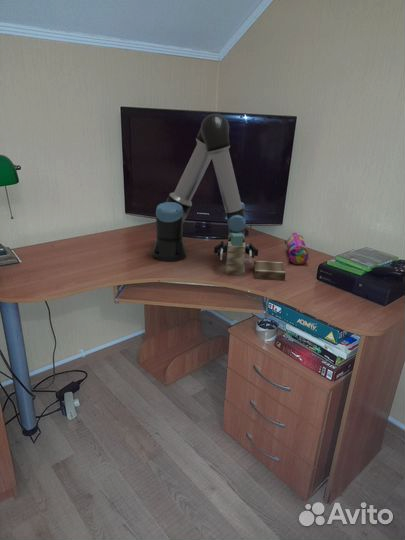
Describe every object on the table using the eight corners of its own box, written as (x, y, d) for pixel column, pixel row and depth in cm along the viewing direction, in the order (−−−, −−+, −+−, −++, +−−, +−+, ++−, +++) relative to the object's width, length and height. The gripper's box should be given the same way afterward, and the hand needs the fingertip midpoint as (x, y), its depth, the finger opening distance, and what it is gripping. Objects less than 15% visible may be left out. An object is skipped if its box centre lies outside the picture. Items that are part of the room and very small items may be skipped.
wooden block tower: (224, 274, 158) (226, 246, 154) (225, 267, 165) (227, 241, 160) (244, 275, 158) (246, 247, 153) (244, 269, 164) (246, 242, 160)
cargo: (232, 245, 154) (233, 236, 153) (230, 242, 158) (231, 233, 157) (242, 245, 155) (243, 236, 154) (240, 242, 159) (240, 233, 157)
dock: (254, 278, 155) (255, 270, 154) (253, 267, 166) (254, 260, 165) (284, 280, 154) (285, 272, 153) (281, 269, 165) (282, 262, 164)
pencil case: (283, 249, 191) (285, 231, 187) (302, 250, 190) (305, 233, 186) (287, 264, 171) (289, 245, 167) (308, 266, 170) (311, 247, 166)
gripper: (261, 250, 175) (264, 268, 155) (210, 247, 177) (206, 264, 157) (263, 234, 173) (266, 250, 152) (210, 231, 174) (207, 247, 154)
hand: (235, 257), depth 155 cm, fingers open, 11 cm apart
